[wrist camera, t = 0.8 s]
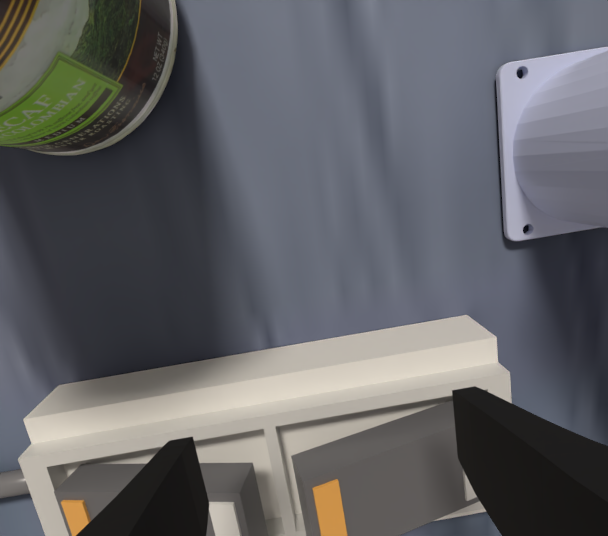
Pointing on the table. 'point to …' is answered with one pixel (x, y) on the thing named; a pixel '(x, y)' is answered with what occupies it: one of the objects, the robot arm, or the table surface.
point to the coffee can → (81, 70)
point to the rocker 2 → (384, 477)
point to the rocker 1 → (114, 477)
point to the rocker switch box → (255, 409)
